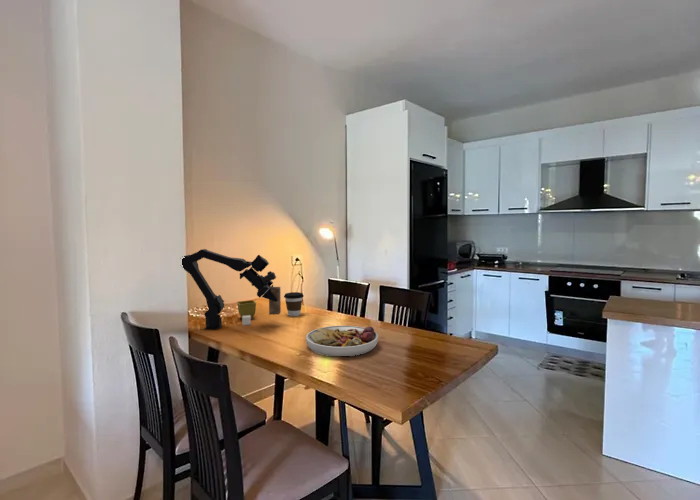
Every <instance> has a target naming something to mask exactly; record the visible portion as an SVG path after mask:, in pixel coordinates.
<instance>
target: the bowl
mask: <svg viewBox="0 0 700 500" xmlns="http://www.w3.org/2000/svg"><path fill="white" fill-rule="evenodd" d="M305 341H306V345H307V346H308V348H309V349H310V350H311V351H313V352H314V353H316V354H318V353H319V354H318V355H321V354H323V355H322V356H326V355H328V356H327V357H332V356H350V357H355V355H356V356H360V354H361V355H364V354H366V353H368V352H371V351H372V350H373V349H374V348H375V347H376V345H377V344H378V341H379V335H378V333H377V332H376V331H375V329H374V327H372V326H367V327H363V326H356V325H331V326H330V325H329V326H324V327H319V328H316V329H313V330H311V331H309V332H308V333H307V334H306V335H305Z"/></svg>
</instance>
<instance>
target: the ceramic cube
mask: <svg viewBox="0 0 700 500" xmlns="http://www.w3.org/2000/svg"><path fill="white" fill-rule="evenodd" d="M241 319H242V320H241V321H242V322H241V324H242V326H251V324H252V319H251V315H248V316H243V317H242V318H241Z"/></svg>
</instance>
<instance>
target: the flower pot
mask: <svg viewBox="0 0 700 500" xmlns="http://www.w3.org/2000/svg"><path fill="white" fill-rule="evenodd" d="M236 303H237V311H238V313H239V315H240V318H241V319H242V317H243V316H248V315H251V320H252V319H253V318H254V317H255V315H256V309H257V308H256V306H257V302H256V301H254V300H253V299H251V300H242V301H241V300H240V301H237V302H236Z"/></svg>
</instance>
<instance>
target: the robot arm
mask: <svg viewBox="0 0 700 500" xmlns="http://www.w3.org/2000/svg"><path fill="white" fill-rule="evenodd" d="M183 256H184V257H185V258H183V259H182V265H183V267H182V269H183V268H184V271H185V272H187V273H188V274H189V276H191V278H192V279H193V281H194V283H195V284H196V285H197V287H198V289H199V290H200V292H201V293H202V295H203V297H204V298H205V300H206V305H207V308H208V309H207V310H206V311H205V312H204V313H203V314H204V317H205V327H204V330H218V329H220V328H221V327H222V326H223V323H222V317H221V312H222V311H223V309H224V308H225V300H224V299H223V298H222V295H220V294H218V295H217V294H215V292H214V291H213V289H212V288H211V287H210V285H209V283H208V282H207V280H206V278H205V277H204V275H203V274H202V271H201V270H200V269H199V268H200V267H199V264H198V262H199V261H200V260H202V259H206V260H209V261H213V262H216V263H219V264H222V265H224V266H225V265H226V266H227V267H229V268H230V269H232V270H234V271H236V272H240V273H239V279H240V280H241V279H242V278H245V279H246V280H247V281H248V282H249V283H250V284H251V286H252V287H255V289H257V292H256V296H257V297H258V298H263V299H267V300H268V301H269V300H272V301H275V302H277V301H278V300H277V299H276V297H275V296H274V295H273V293H272V292H271V288H270V287H274V282H273V280H276V279H277V275H276V273H275V272H274V271H268V272H266V273H267V275H265V276H264V275H260V274H259V272H260V273H261V272H262V271H263V270H265V268H267V266H268V265H269V264H270V263H269V261H268V260H267V259H266V258H264V257H263V256H261V255H260V254H258V255H257V256H256V257H255V258H254V259H253V261H248V260H246V259H244V258H239V257H232V256H231V257H230V256H228V255H223V254H220V253H218V252H214V251H212V250H208V249H207V248H203V249H200V250H198V251H196V252H194V253H192V254H186V255H183ZM248 268H249V269H248ZM242 271H243V272H242ZM269 288H270V289H269Z"/></svg>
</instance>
